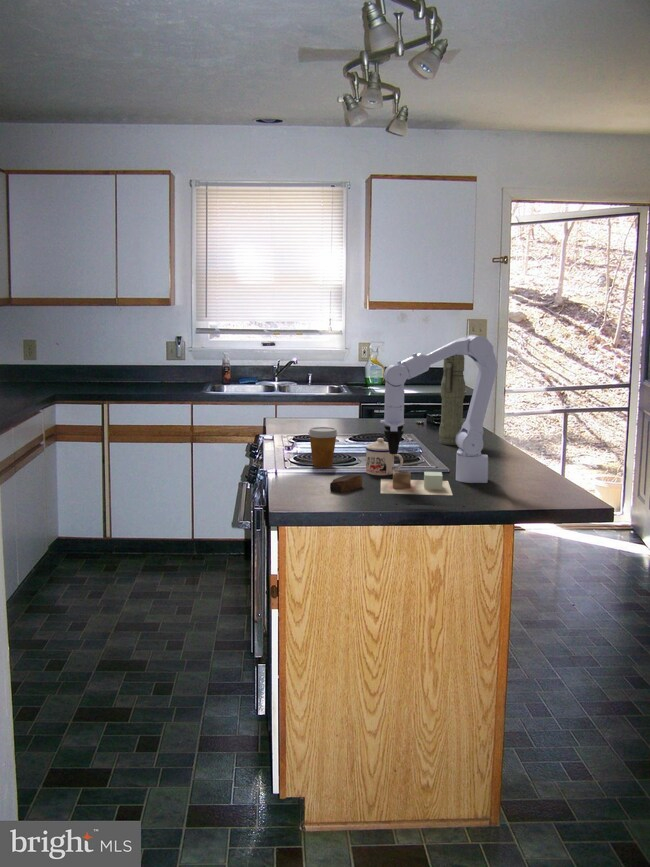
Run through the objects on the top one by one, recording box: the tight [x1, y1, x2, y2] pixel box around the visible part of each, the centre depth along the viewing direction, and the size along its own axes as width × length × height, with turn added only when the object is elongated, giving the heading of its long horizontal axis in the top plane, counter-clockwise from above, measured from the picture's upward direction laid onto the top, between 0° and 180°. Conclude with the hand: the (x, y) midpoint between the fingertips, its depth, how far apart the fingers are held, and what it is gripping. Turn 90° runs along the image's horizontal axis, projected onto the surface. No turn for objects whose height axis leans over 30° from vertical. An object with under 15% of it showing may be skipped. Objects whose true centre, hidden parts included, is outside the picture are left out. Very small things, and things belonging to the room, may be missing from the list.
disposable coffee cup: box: [308, 426, 339, 468], centre depth 282 cm, size 10×10×12 cm
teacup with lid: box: [365, 437, 404, 476], centre depth 268 cm, size 12×9×12 cm
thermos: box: [438, 354, 466, 446], centre depth 323 cm, size 9×12×35 cm
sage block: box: [423, 471, 444, 490], centre depth 250 cm, size 5×5×4 cm
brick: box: [329, 473, 363, 494], centre depth 246 cm, size 11×4×5 cm, turn 144°
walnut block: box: [392, 470, 412, 489], centre depth 250 cm, size 5×5×4 cm
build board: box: [380, 478, 453, 496], centre depth 250 cm, size 20×18×1 cm
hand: (393, 451), depth 257 cm, fingers open, 7 cm apart
